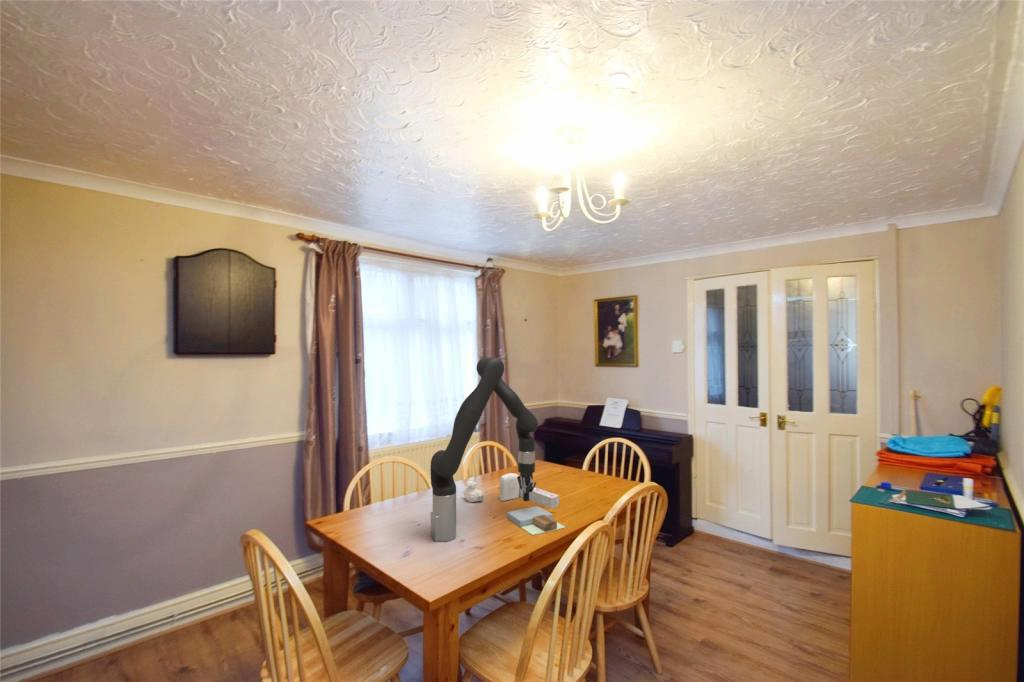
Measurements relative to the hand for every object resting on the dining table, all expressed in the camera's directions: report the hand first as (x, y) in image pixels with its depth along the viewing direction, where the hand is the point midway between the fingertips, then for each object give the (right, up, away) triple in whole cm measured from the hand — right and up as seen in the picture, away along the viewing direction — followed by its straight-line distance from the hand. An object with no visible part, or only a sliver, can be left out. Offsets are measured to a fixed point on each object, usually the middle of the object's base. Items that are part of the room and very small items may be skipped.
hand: (526, 500), depth 193 cm
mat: (+7, -7, -12) cm, 15 cm away
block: (+7, -7, -11) cm, 15 cm away
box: (+5, -9, +23) cm, 25 cm away
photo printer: (-8, -8, +25) cm, 27 cm away
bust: (-25, -8, +21) cm, 34 cm away
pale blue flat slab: (+1, -7, -2) cm, 8 cm away
